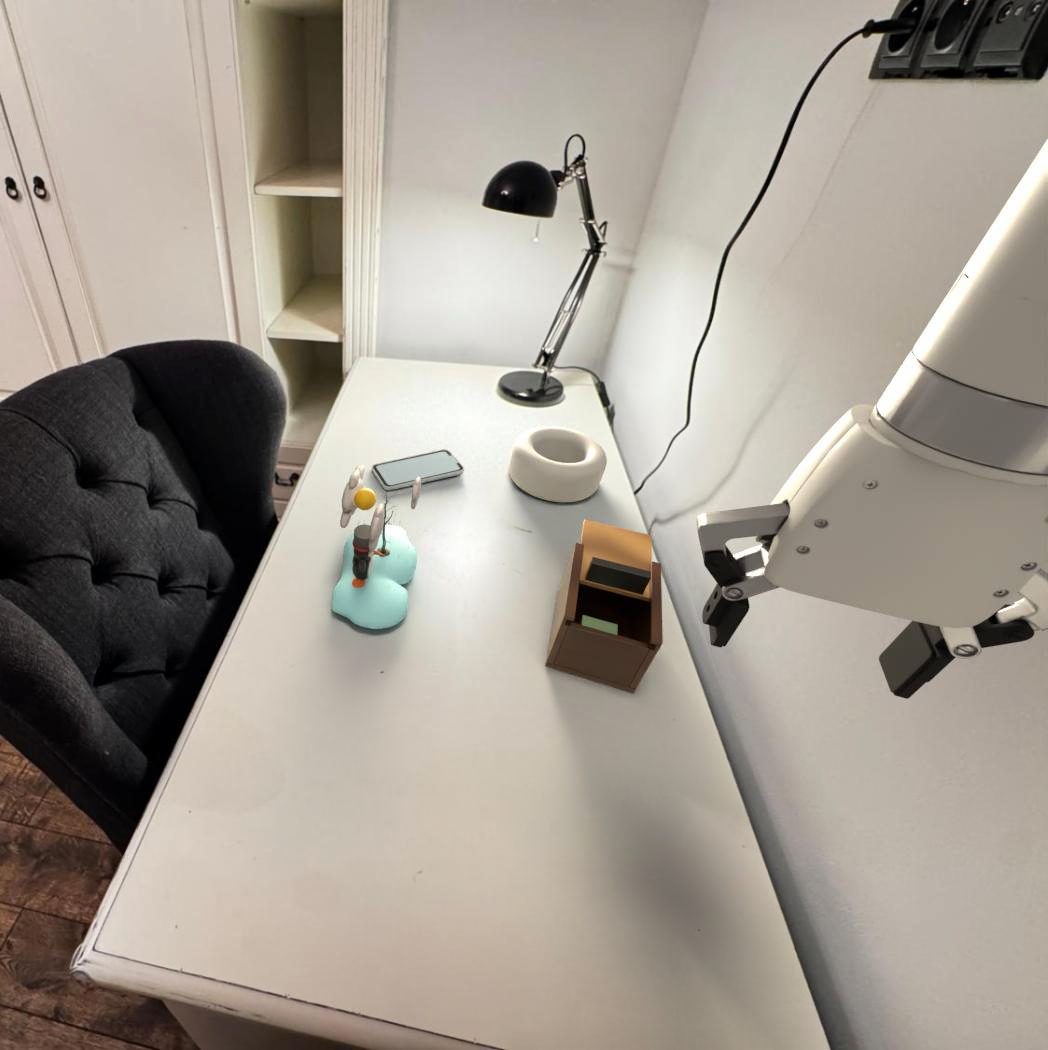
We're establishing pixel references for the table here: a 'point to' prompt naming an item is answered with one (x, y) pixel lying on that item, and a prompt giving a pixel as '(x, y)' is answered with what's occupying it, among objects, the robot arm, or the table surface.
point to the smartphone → (417, 469)
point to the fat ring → (557, 464)
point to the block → (599, 624)
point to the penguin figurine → (374, 561)
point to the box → (598, 650)
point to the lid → (616, 560)
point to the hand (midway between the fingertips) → (799, 653)
